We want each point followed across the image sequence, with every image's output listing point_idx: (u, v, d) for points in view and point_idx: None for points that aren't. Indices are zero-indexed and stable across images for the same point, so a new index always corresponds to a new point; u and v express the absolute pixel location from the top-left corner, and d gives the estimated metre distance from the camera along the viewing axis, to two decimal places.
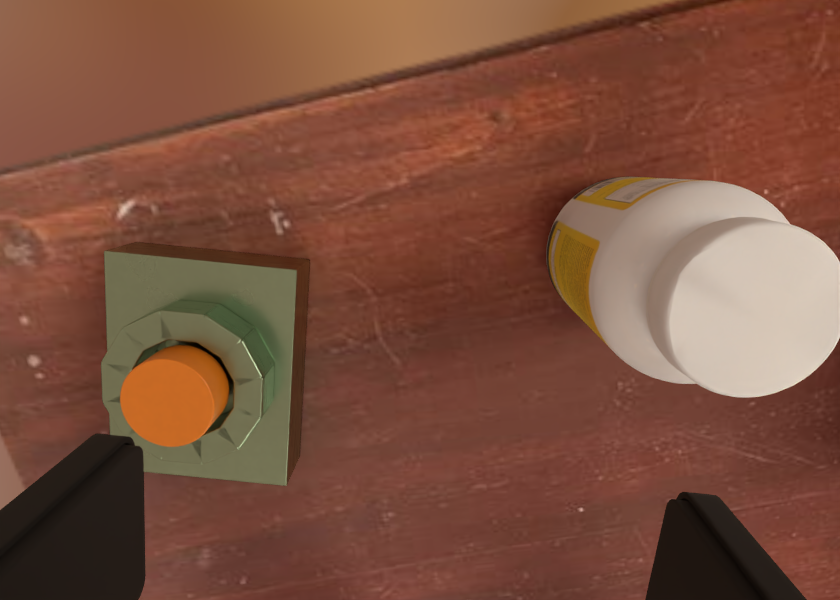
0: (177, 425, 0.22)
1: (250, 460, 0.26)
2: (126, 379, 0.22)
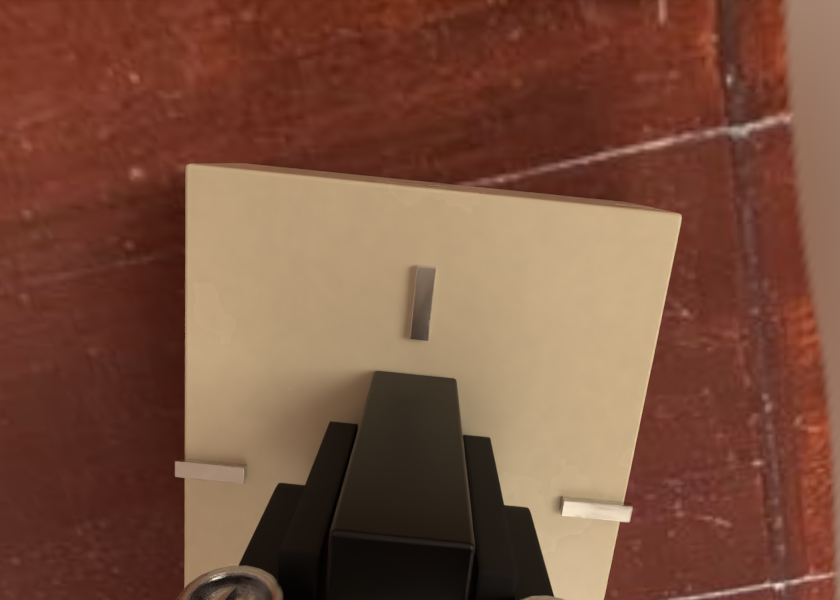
0: None
1: None
2: None
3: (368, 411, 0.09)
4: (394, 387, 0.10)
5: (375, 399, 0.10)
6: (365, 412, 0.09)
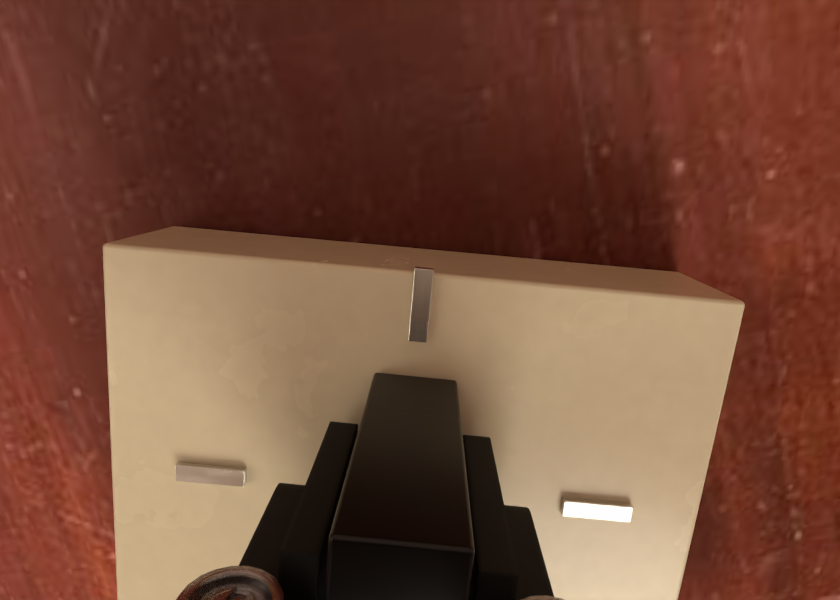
0: None
1: None
2: None
3: (368, 413, 0.09)
4: (394, 389, 0.10)
5: (375, 401, 0.10)
6: (365, 414, 0.09)
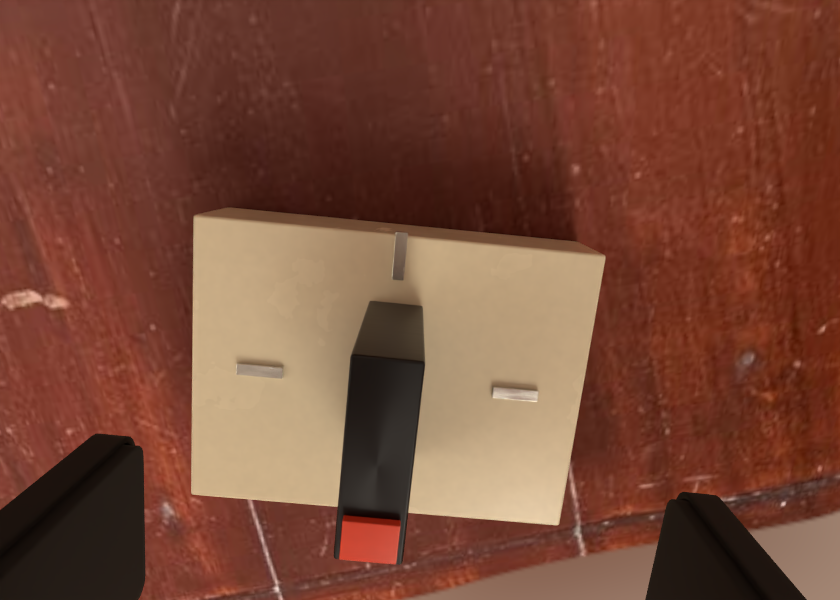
0: None
1: None
2: None
3: (367, 317, 0.15)
4: (382, 308, 0.16)
5: (371, 312, 0.16)
6: (365, 317, 0.15)
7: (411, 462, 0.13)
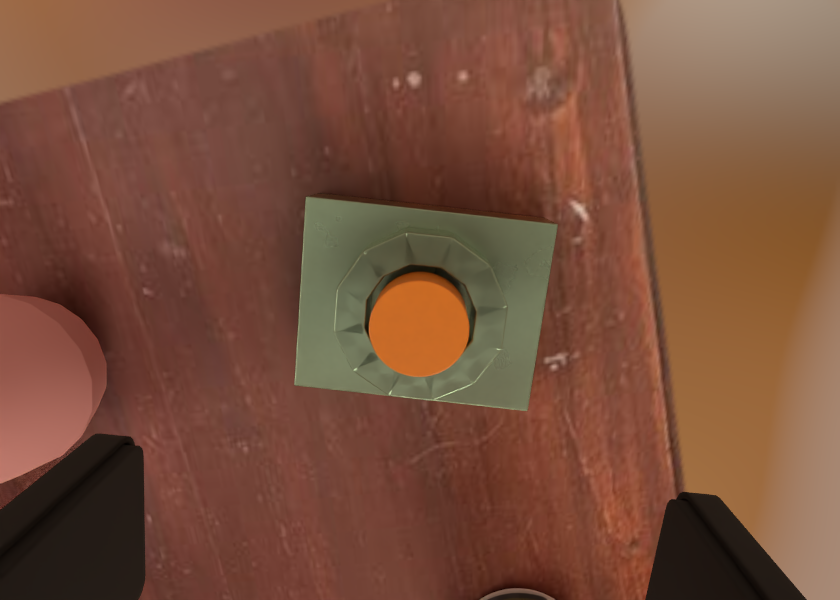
0: (394, 338, 0.21)
1: (323, 351, 0.24)
2: (447, 291, 0.20)
3: None
4: None
5: None
6: None
7: None
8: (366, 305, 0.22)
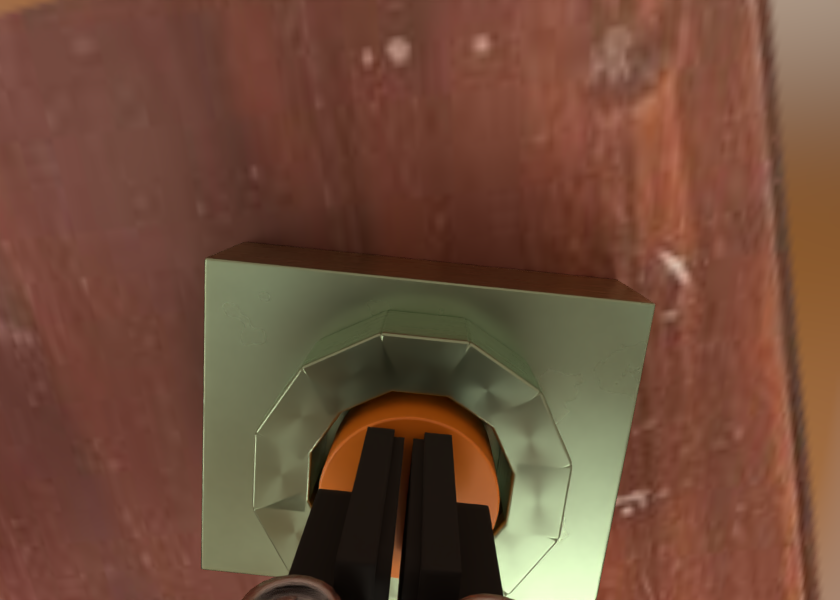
0: None
1: (246, 516, 0.14)
2: (459, 435, 0.11)
3: None
4: None
5: None
6: None
7: None
8: (310, 461, 0.12)
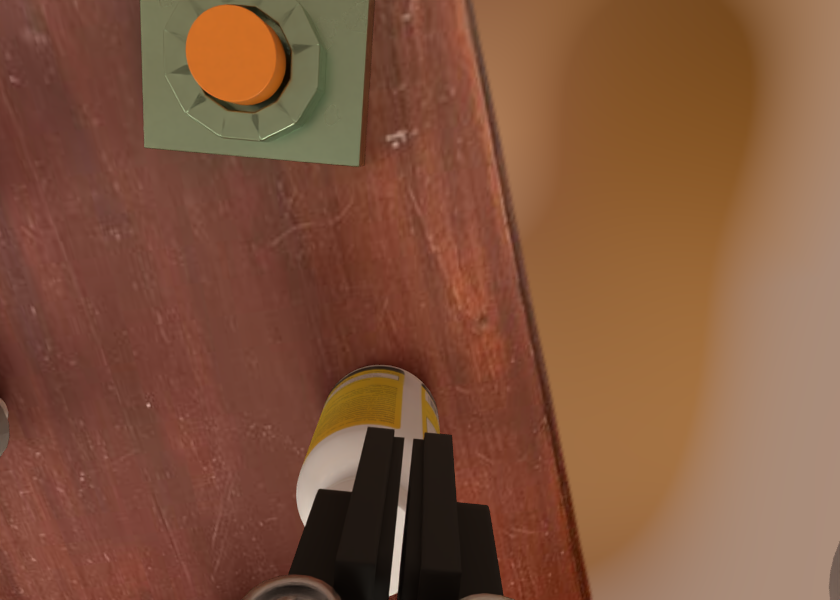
0: (209, 63, 0.23)
1: (167, 112, 0.26)
2: (252, 14, 0.22)
3: None
4: None
5: None
6: None
7: None
8: None
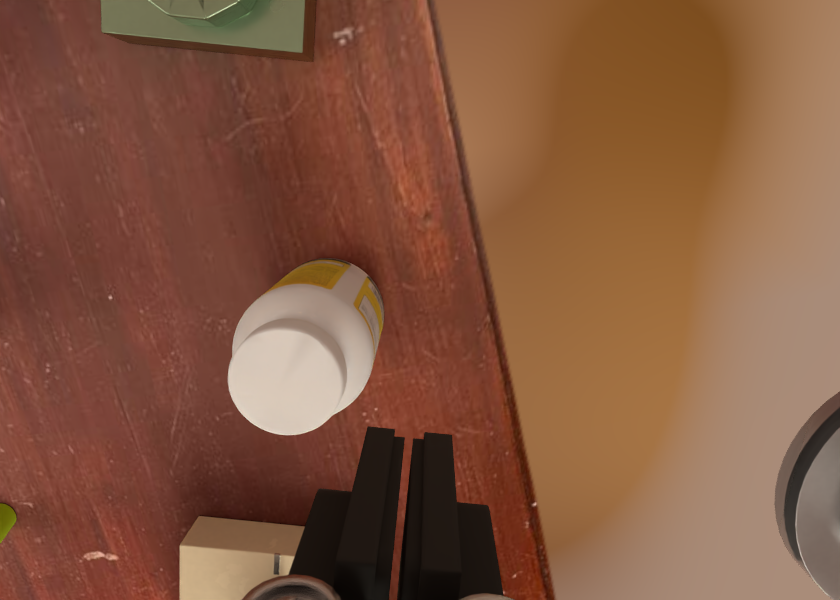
0: None
1: None
2: None
3: None
4: None
5: None
6: None
7: None
8: None
